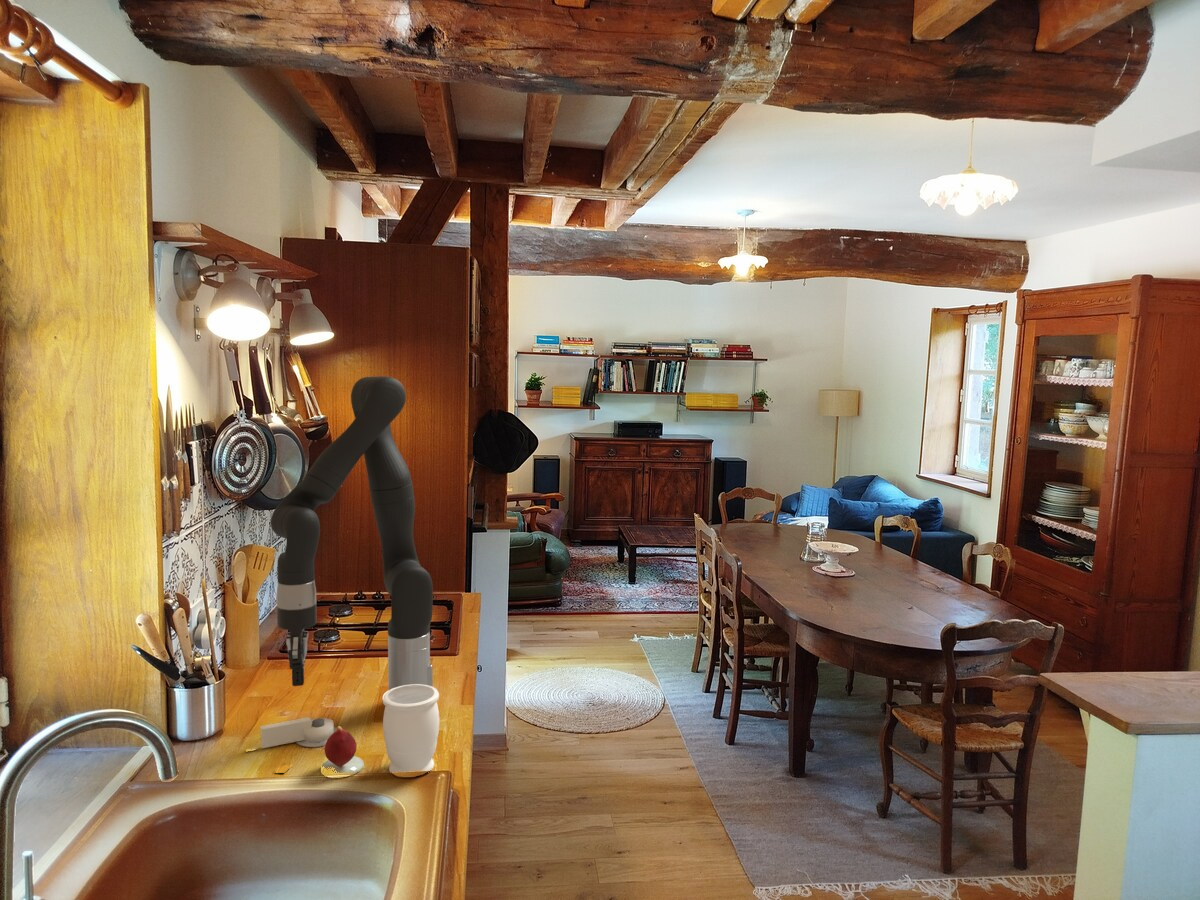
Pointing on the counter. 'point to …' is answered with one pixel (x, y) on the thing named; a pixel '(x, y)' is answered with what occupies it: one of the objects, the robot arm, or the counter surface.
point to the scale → (310, 743)
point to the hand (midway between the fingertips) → (298, 684)
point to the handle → (296, 731)
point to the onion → (340, 747)
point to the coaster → (346, 766)
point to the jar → (411, 727)
